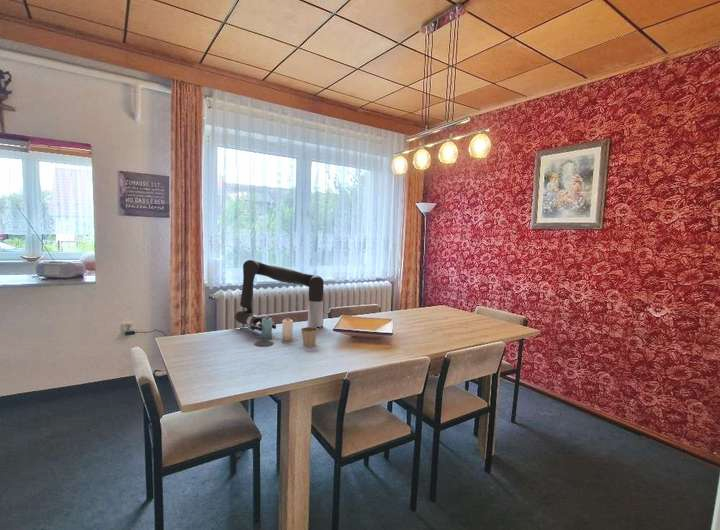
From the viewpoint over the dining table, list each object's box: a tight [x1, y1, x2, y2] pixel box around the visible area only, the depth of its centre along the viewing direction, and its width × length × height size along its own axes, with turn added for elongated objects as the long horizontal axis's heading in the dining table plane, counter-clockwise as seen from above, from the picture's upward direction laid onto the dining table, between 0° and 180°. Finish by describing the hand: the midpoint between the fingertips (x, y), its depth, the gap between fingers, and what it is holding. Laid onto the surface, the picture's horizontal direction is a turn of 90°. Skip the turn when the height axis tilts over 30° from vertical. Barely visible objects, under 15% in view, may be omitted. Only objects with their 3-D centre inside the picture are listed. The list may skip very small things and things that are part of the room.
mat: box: [253, 340, 275, 348], centre depth 186 cm, size 10×10×1 cm
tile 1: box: [254, 335, 278, 341], centre depth 197 cm, size 10×10×1 cm
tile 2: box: [275, 336, 300, 344], centre depth 196 cm, size 10×10×1 cm
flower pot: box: [300, 326, 319, 347], centre depth 190 cm, size 9×9×9 cm
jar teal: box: [261, 316, 273, 339], centre depth 197 cm, size 6×6×12 cm
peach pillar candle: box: [281, 317, 294, 341], centre depth 195 cm, size 6×6×12 cm
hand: (268, 328), depth 195 cm, fingers open, 8 cm apart
